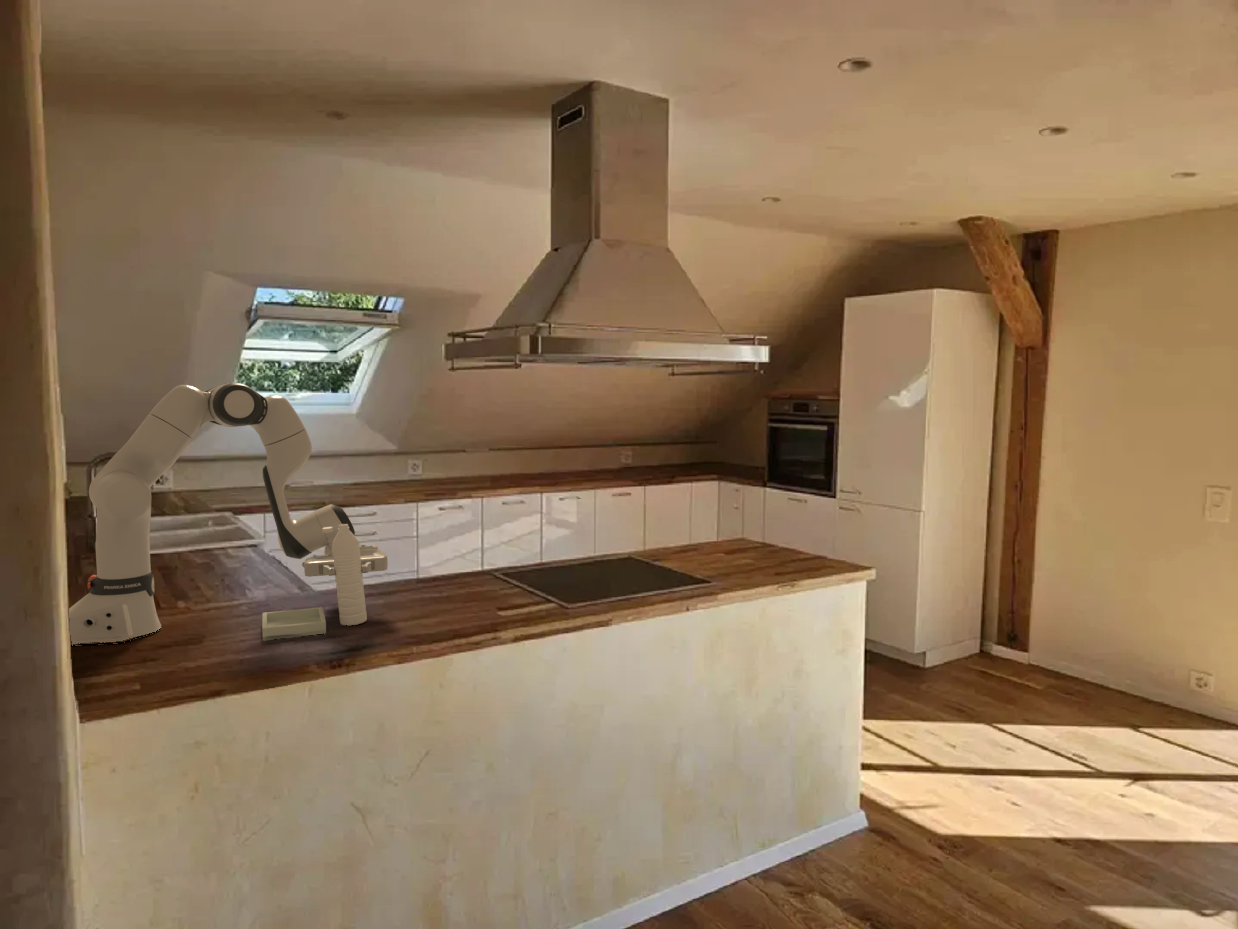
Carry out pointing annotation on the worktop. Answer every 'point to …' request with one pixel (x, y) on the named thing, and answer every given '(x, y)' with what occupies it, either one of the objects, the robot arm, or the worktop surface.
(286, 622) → the sage tray
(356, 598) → the water bottle
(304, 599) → the worktop surface
